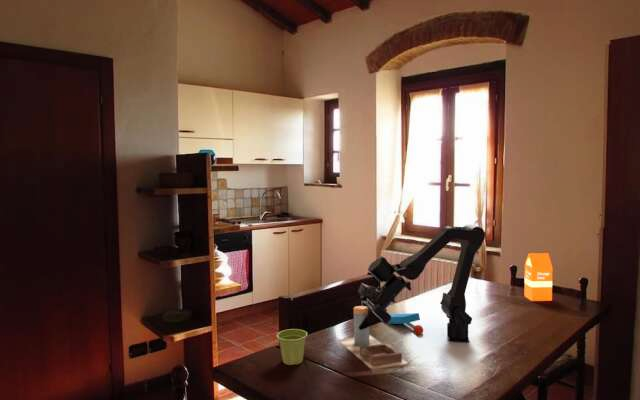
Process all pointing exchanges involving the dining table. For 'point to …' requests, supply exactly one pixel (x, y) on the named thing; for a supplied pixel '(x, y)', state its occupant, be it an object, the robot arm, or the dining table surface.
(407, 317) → the lever
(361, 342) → the orange-capped blue cylinder
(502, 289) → the dining table surface
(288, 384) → the dining table surface
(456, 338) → the robot arm
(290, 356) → the plant pot
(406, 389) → the dining table surface
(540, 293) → the orange juice
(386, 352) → the jig
